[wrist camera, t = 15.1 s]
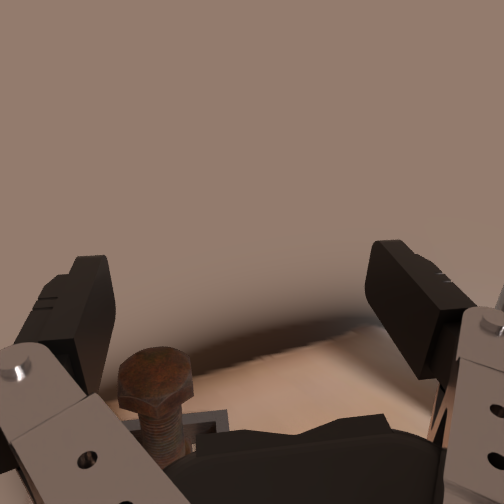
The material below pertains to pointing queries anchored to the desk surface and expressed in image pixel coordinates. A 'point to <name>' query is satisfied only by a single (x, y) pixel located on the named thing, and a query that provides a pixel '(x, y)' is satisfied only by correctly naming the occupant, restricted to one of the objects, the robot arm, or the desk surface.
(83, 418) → the robot arm
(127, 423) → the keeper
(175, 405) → the bolt
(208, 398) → the desk surface
